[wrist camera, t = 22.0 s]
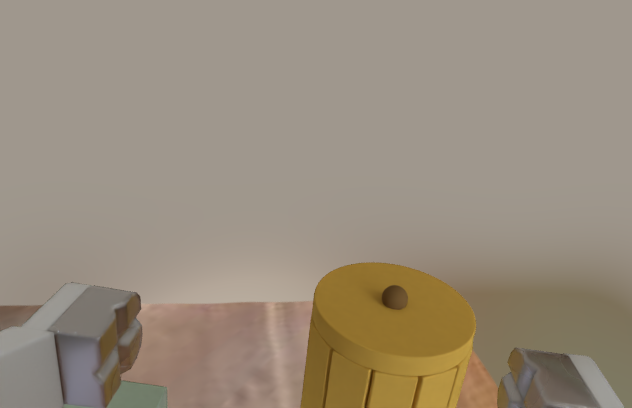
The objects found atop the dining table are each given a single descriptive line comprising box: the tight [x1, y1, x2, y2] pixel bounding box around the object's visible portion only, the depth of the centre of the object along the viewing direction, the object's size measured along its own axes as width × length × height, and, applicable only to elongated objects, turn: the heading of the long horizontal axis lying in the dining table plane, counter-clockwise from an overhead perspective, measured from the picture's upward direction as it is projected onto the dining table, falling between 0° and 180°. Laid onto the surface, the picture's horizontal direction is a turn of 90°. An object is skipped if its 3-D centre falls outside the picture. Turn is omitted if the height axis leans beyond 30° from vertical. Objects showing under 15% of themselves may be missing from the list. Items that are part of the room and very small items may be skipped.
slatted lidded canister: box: [301, 263, 476, 408], centre depth 21 cm, size 9×6×11 cm
